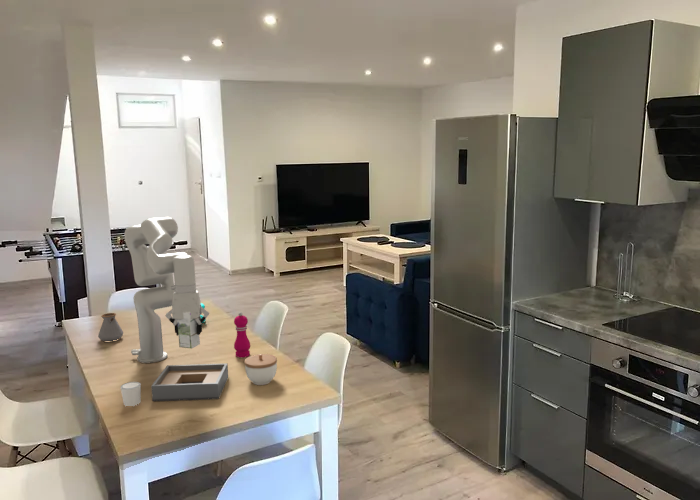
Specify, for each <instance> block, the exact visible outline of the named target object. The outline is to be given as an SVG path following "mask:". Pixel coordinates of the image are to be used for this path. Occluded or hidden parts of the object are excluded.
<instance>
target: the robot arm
mask: <svg viewBox="0 0 700 500" xmlns="http://www.w3.org/2000/svg"><path fill="white" fill-rule="evenodd" d="M178 232H179V226H178V223H177V221H176V220H175V219H174V218H173V217H170V216H165V217H164V216H163V217H161V216H160V217H151V218H147V219H145V220H143V221H142V222H141V223H140V224H136V225H131V226H128V227H127V228H125V230H124V241H125V245H126V247H127V248H128V251H129V253H130V256H131V262H132V270H133V271H132V272H133V277H134V278H133V279H134V282H135V284H136V285H137V286H139V287H147V286H152V285H153V286H154V285H159V284H160V285H161V286H157V287H156V286H155V287H149V288H144V289H140V290H138V291H136V292H134V295H133V304H134V307H135V311H136V317H137V326H138V337H139V348H138V349H136V348H135V349H134V348H133V349H131V350H130V353H131V355H132V356H137V358H136V360H137V362H139V363H141V364H151V363H157V362H161V361H163V360H165V359H167V357H168V353H167V352H166V351H164V345H163V332H162V321H161V317H160V315H159V314H157V313H156V312H155V310H160V309H164V308H169V307H171V309H170V310H169V311H168V312H167V313H166V314H165V317H166V319H168V321H169V322H170V323H172V325H173V326H174V333H175V335H176V336H178V337H179V335H178V323H177V320H182V319H184V317H183V312H189V311H190V312H191V319H195V320H196V321H197V323H198V324H197V335H199V336H200V335H201V333H202V332H203V323H202V322H203V321H204V320H205V319H206V320H207V318H208V316H210V312H209V311H208V310H207V309H206V308H204V309H203V308H202V307H201V303H202V302H201V297H200V294H199V291H198V290H197V283H196V282H197V280H196V270H195V269H196V268H195V259H194V257H193V256H192V255H190V254H188V253H187V252H185V251H181V252H180V251H179V252H171V253H166V252H167V251H168V250H169V249H171V247H172V245H173V238H175V237H176V236H177V234H178ZM147 245H148V246H147ZM202 314H203V315H202ZM200 315H202V316H203V317H202V318H201V317H200ZM206 320H205V321H206Z"/></svg>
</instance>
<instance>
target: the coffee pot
mask: <svg viewBox="0 0 700 500" xmlns="http://www.w3.org/2000/svg"><path fill="white" fill-rule="evenodd" d="M116 316H117V313H115V312H108V313H104V314H102V315H101V318H102V324H101V327H100V329H99V332H98V336H97V337H98V338H99V340H100V341H102V342H103V341H113V340H117V339H119V338H120V339H121V338H122V337H123V336H124V330H123V329H122V327H121V326H120V324H119V323H118V321H117V319H116ZM120 339H119V340H120ZM117 341H118V340H117Z"/></svg>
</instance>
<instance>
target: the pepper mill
mask: <svg viewBox="0 0 700 500" xmlns="http://www.w3.org/2000/svg"><path fill="white" fill-rule="evenodd" d="M248 321H249V319H248V317H247V316H246V315H243V312H241V311H240V312H238V315H237V316H236V317H235V318H234V320H233V324H234V325H235V331H236V336H235V337H236V338H235V341H234V344H233V349H234V350H235V357H236V358H243V359H244V358H248V357H250V356H251V354H250V353H251V352H250V348H251V342H250V340H249V337H248V335H247V329H248V326H247V325H248V323H249V322H248Z"/></svg>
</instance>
